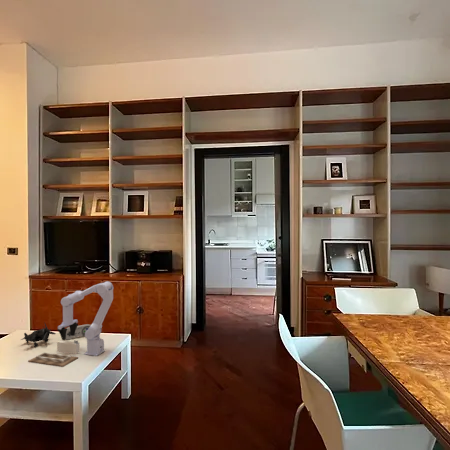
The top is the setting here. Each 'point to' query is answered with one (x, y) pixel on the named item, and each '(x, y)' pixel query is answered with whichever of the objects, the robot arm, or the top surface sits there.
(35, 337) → the airplane toy
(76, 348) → the cream rectangular block
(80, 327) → the game controller
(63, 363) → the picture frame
